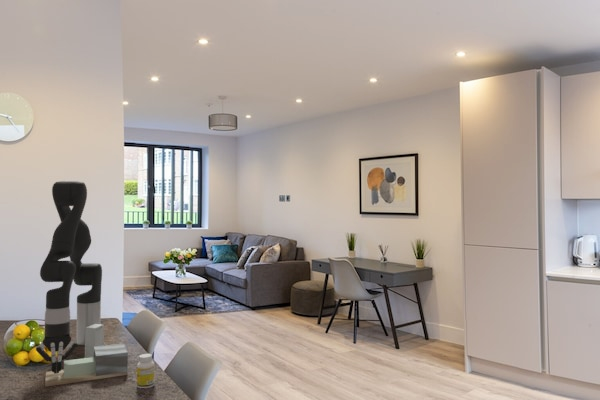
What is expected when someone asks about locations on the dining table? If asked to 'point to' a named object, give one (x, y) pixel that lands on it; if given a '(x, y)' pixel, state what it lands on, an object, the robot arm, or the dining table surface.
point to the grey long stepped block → (97, 366)
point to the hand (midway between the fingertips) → (56, 372)
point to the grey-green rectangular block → (79, 367)
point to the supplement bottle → (145, 371)
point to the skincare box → (93, 338)
